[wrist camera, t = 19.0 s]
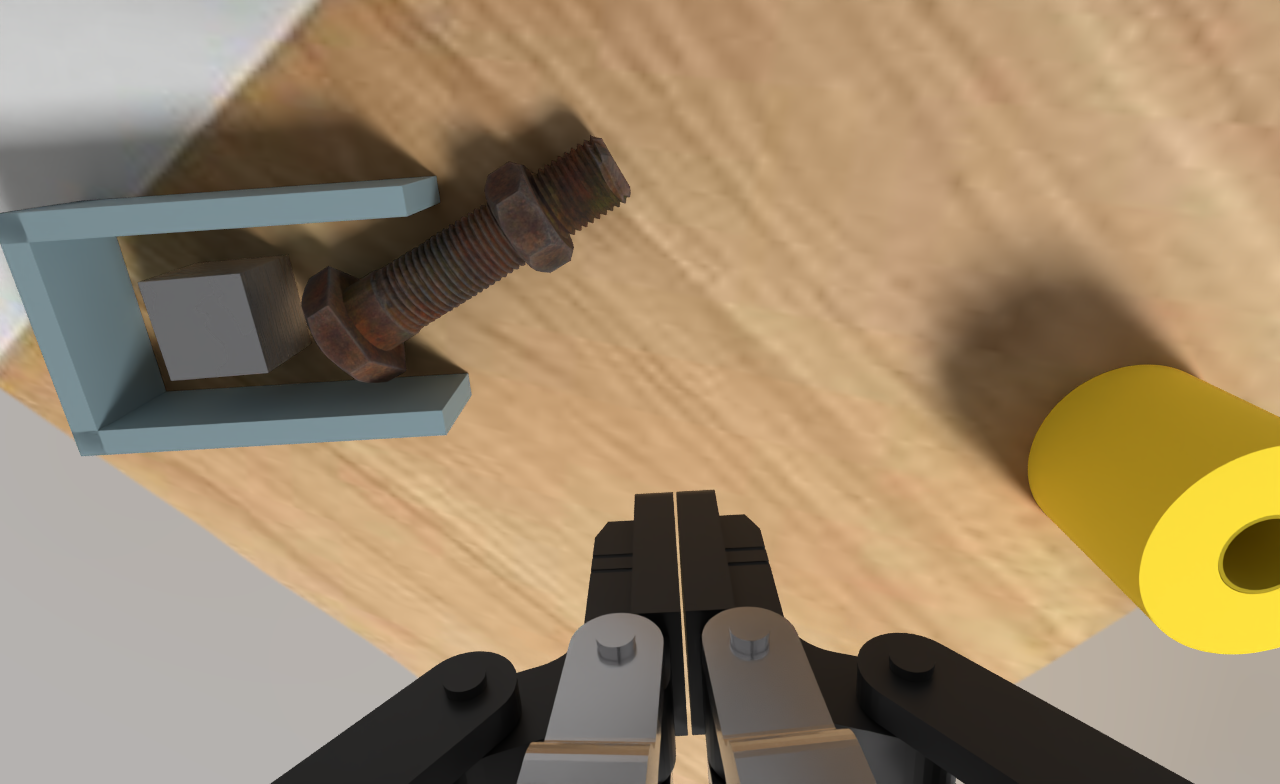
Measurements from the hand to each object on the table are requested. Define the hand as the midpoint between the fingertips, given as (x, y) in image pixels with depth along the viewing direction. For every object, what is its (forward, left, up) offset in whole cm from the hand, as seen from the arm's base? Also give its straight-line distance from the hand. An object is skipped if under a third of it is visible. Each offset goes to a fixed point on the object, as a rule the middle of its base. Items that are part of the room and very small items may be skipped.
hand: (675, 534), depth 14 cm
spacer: (0, -20, -23) cm, 31 cm away
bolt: (-2, -8, -24) cm, 25 cm away
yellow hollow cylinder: (+11, +24, -23) cm, 35 cm away
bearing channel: (0, -18, -23) cm, 30 cm away
